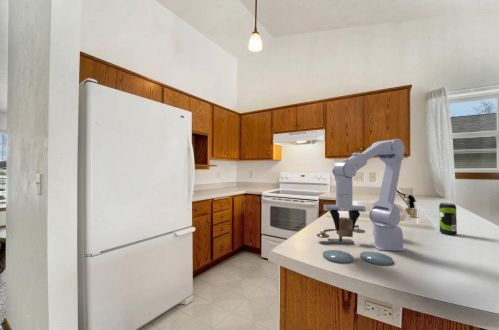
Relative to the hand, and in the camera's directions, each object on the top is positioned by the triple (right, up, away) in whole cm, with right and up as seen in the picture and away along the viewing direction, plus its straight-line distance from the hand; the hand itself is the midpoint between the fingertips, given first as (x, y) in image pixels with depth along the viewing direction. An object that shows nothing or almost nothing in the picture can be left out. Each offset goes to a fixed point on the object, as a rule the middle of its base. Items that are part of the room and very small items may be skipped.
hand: (344, 230), depth 81 cm
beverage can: (+63, -10, +26) cm, 69 cm away
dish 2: (+9, -9, -5) cm, 13 cm away
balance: (+4, -9, +13) cm, 16 cm away
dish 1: (-4, -9, -3) cm, 10 cm away
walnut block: (0, -2, 0) cm, 2 cm away
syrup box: (+27, -10, +22) cm, 36 cm away
